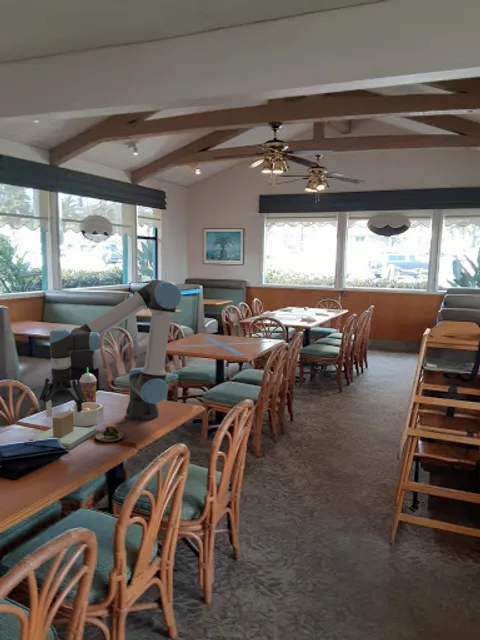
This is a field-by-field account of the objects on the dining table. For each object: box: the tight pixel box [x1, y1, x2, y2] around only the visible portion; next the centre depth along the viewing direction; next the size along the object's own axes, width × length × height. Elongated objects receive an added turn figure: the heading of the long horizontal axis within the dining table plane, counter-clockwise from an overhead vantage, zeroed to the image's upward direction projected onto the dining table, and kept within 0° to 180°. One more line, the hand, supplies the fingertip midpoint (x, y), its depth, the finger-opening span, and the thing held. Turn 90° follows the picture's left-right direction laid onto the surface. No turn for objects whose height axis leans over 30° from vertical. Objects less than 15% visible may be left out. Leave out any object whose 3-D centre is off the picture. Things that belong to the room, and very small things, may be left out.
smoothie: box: [78, 367, 98, 403], centre depth 240 cm, size 8×8×20 cm
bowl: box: [68, 402, 105, 427], centre depth 220 cm, size 14×14×6 cm
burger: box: [94, 423, 126, 443], centre depth 198 cm, size 12×12×8 cm
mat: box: [27, 429, 101, 451], centre depth 198 cm, size 21×21×1 cm
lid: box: [29, 411, 96, 446], centre depth 198 cm, size 18×18×9 cm
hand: (63, 418), depth 198 cm, fingers open, 13 cm apart
